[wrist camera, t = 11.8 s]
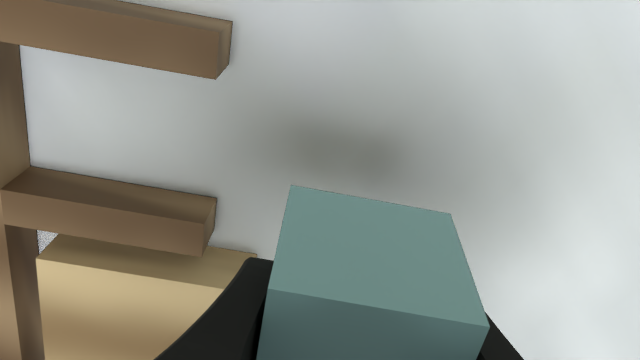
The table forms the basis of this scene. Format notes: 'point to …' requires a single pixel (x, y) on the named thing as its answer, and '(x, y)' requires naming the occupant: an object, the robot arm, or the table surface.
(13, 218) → the walnut frame
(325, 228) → the teal block
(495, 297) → the table surface
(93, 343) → the oak slab
